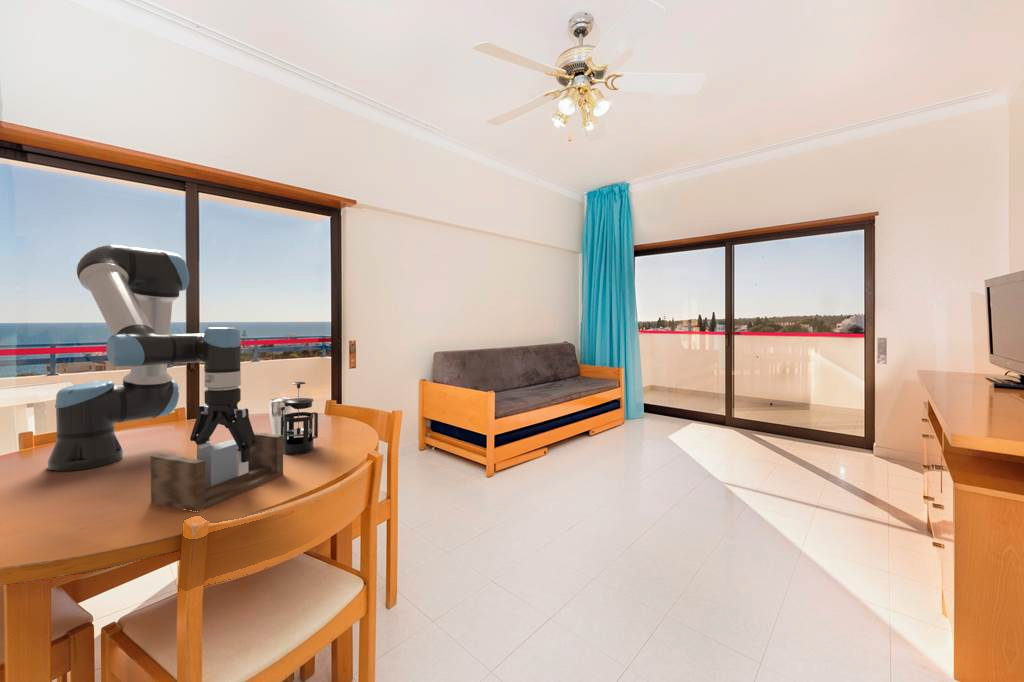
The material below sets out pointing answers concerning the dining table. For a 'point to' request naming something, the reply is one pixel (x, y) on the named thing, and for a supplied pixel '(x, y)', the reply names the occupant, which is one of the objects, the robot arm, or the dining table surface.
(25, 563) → the dining table surface
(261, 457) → the track base
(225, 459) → the plain grey rectangular block
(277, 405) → the white silver canister
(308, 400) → the french press
